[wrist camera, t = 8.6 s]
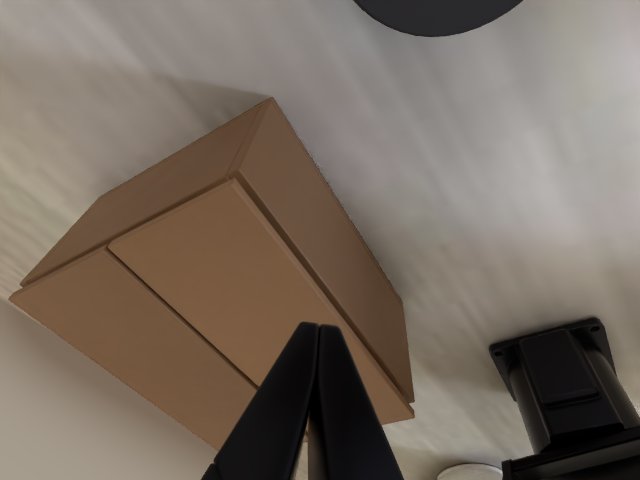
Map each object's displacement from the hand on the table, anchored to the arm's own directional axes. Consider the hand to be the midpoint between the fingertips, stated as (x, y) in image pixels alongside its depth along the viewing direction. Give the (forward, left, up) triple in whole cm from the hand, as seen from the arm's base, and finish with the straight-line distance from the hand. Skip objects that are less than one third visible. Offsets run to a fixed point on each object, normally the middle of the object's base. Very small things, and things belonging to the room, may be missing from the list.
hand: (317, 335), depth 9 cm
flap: (-5, +5, -5) cm, 8 cm away
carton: (-5, +7, -12) cm, 15 cm away
